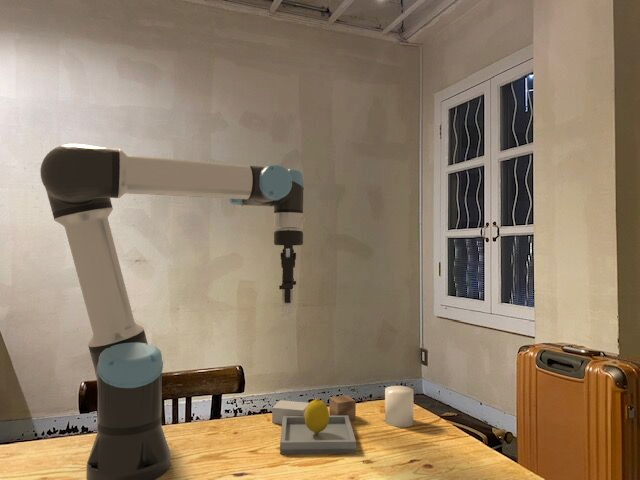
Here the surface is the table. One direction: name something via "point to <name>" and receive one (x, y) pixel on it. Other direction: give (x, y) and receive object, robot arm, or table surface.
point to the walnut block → (342, 406)
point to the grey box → (287, 410)
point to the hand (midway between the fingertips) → (288, 312)
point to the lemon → (316, 416)
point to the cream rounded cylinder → (399, 406)
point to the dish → (317, 436)
